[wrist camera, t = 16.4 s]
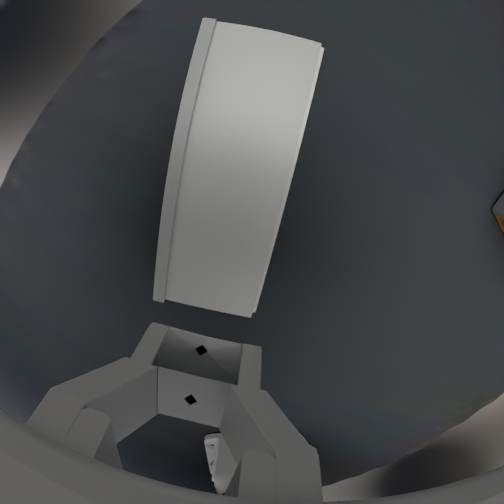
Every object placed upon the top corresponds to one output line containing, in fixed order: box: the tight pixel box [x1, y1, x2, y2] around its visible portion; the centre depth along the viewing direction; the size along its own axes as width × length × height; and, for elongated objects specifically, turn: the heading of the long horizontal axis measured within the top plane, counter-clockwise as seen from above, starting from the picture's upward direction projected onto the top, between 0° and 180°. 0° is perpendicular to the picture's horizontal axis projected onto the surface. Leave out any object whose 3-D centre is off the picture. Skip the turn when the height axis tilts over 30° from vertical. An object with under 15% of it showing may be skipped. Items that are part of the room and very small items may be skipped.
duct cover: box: [153, 18, 322, 318], centre depth 23 cm, size 24×9×1 cm, turn 167°
